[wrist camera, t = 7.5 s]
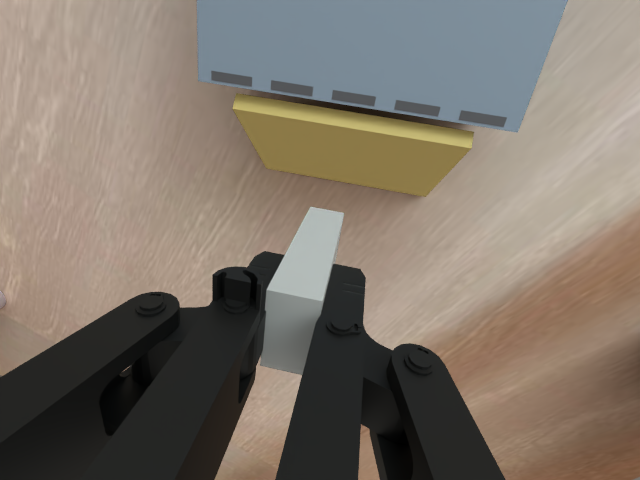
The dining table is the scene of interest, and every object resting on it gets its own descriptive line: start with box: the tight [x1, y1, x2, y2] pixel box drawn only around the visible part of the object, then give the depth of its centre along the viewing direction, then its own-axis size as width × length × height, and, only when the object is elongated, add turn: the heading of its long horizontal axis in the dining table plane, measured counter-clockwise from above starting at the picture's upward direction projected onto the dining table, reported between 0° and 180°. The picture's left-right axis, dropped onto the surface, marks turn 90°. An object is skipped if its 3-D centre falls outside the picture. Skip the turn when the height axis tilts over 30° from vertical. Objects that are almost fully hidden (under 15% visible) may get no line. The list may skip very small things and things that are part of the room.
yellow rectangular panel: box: [232, 93, 474, 197], centre depth 25 cm, size 10×14×1 cm
